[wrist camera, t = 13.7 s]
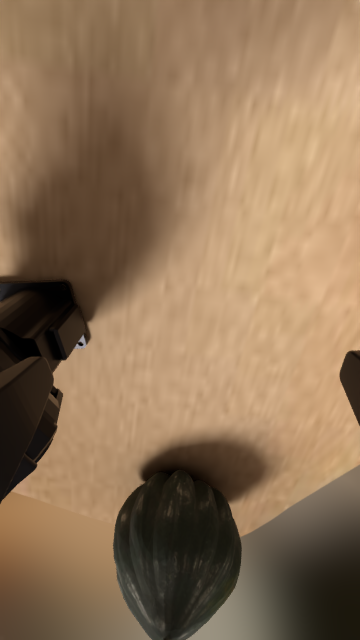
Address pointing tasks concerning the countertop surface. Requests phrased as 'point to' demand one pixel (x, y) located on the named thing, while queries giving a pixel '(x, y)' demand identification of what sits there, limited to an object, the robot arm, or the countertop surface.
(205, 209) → the countertop surface
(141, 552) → the squash
